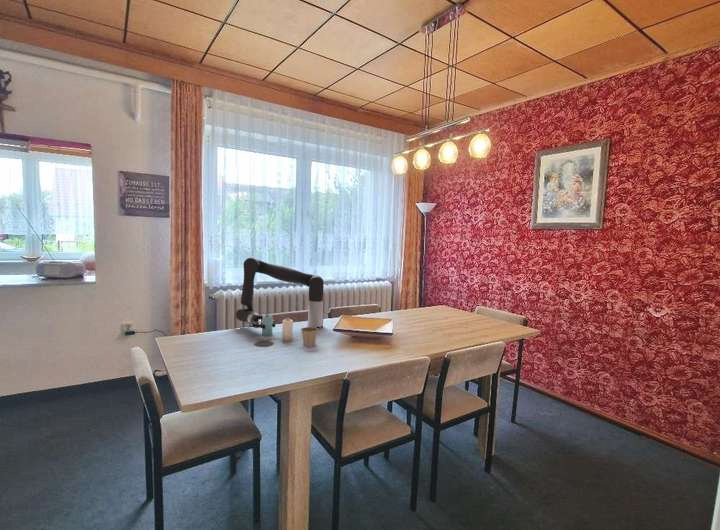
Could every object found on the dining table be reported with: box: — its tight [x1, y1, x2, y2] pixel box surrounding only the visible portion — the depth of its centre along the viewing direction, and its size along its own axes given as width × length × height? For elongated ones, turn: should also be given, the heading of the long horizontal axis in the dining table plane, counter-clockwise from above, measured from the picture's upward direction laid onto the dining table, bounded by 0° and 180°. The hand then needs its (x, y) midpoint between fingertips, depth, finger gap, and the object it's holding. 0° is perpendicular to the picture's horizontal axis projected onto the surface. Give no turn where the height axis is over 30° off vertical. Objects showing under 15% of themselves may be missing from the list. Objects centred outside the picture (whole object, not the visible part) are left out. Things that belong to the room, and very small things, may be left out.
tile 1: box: [254, 335, 278, 341], centre depth 197 cm, size 10×10×1 cm
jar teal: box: [261, 313, 274, 337], centre depth 196 cm, size 6×6×12 cm
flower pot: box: [300, 326, 319, 347], centre depth 190 cm, size 9×9×9 cm
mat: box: [253, 340, 275, 348], centre depth 186 cm, size 10×10×1 cm
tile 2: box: [275, 336, 300, 344], centre depth 196 cm, size 10×10×1 cm
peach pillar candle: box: [281, 317, 294, 341], centre depth 195 cm, size 6×6×12 cm
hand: (269, 326), depth 195 cm, fingers closed on jar teal, 5 cm apart
